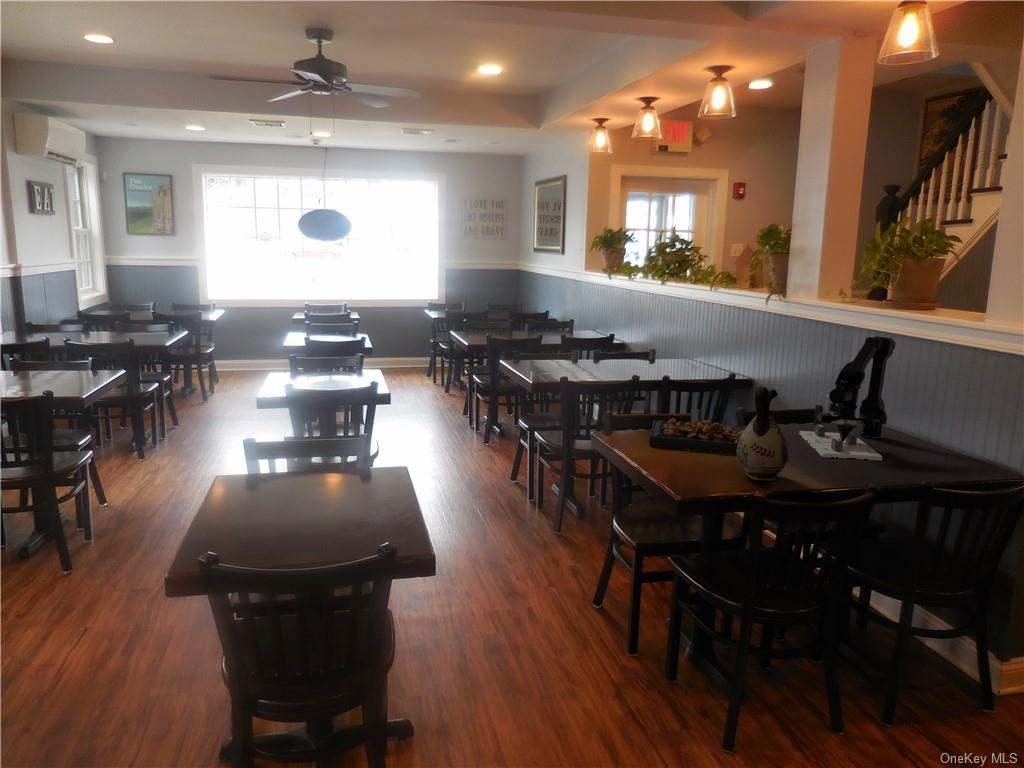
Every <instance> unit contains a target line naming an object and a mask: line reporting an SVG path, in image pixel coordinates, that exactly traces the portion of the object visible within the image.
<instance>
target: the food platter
mask: <svg viewBox="0 0 1024 768" xmlns="http://www.w3.org/2000/svg"><path fill="white" fill-rule="evenodd" d="M652 422H653V423H652V427H651V431H650V435H649V447H651V446H660V447H659V448H662V447H669V448H668V449H672V448H679V449H678V450H683V449H689V450H688V451H693V450H698V451H697V452H703V451H712V452H711V453H714V452H722V453H721V454H724V453H732V454H731V455H734V454H737V447H738V442H739V439H740V437H741V435H742V433H743V431H744V430H745V429H746V427H734V426H725V425H724V424H722V423H721V422H713V423H712V421H710V420H709V419H705V420H701V419H699V420H697V421H694V422H692V421H687V422H681V421H677V420H676V418H673V417H672V418H670V419H669V420H667V421H666V420H663V419H660V420H657V419H654V420H653V421H652Z"/></svg>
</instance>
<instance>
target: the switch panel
mask: <svg viewBox="0 0 1024 768" xmlns="http://www.w3.org/2000/svg"><path fill="white" fill-rule="evenodd" d="M799 435H801V436H802V437H801V436H800V437H801V438H802V439H804V441H806V440H807V441H808V442H807V441H806V442H807V443H808V444H809V443H810V444H809V446H811V447H812V448H813V449H814V448H815V449H816V450H815V449H814V450H815V451H816V452H817V453H818V454H819V455H820V456H821V457H822V458H831V457H834V458H835V459H847V458H856V459H855V460H864V459H868V460H867V461H882V460H883V456H882V455H881V454H880V453H879V452H877V450H875V449H873V448H872V447H870V446H869V445H868V444H867V443H865V442H864V441H863V440H861V439H860V438H859V437H857V443H856V445H850V444H848V443H847V442H846V439H845V440H844V442H843V446H842V451H834V450H833V449H832V448H831V443H832V438H835V439H840V440H841V438H840V434H839V432H828V431H827V432H826V431H825V436H817V435H816V434H815V431H809V430H808V431H806V430H799ZM836 457H838V458H836ZM834 458H833V459H834ZM882 462H883V461H882Z"/></svg>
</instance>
